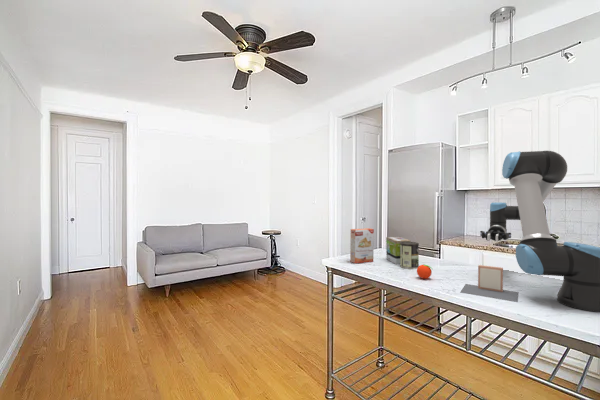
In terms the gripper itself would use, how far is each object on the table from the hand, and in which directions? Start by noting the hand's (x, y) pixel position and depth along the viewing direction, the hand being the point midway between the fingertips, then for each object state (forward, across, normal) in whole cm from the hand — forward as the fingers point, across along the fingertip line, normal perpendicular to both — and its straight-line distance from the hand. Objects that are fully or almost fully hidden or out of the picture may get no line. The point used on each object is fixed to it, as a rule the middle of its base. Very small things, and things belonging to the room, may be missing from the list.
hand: (492, 238), depth 138 cm
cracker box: (-10, +70, -22) cm, 74 cm away
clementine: (+6, +28, -22) cm, 36 cm away
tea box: (-24, +52, -22) cm, 62 cm away
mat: (+13, 0, -22) cm, 26 cm away
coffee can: (-14, +42, -22) cm, 50 cm away
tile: (+9, 0, -22) cm, 23 cm away
